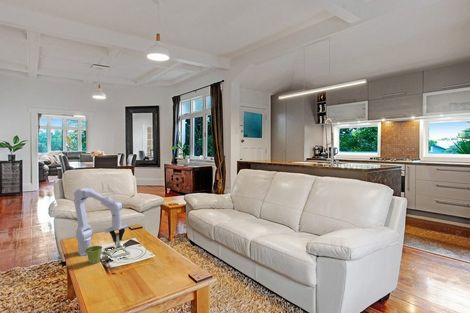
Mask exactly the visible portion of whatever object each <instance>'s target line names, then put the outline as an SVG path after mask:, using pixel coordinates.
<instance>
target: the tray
mask: <svg viewBox="0 0 470 313" xmlns="http://www.w3.org/2000/svg"><path fill="white" fill-rule="evenodd" d="M119 250H123V251H125V253H121V254H118V255H114V256H113V255H112V254H110V253H113V252H115V251H119ZM106 254H107V255H108V256H110V257H111V258H117V257H121V256H126V255H130V254H131V252H130V250H128V249H127V248H126V249H125V248H124V247H121V248H117V249H114V250H110V251H106ZM130 256H131V255H130Z"/></svg>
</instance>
